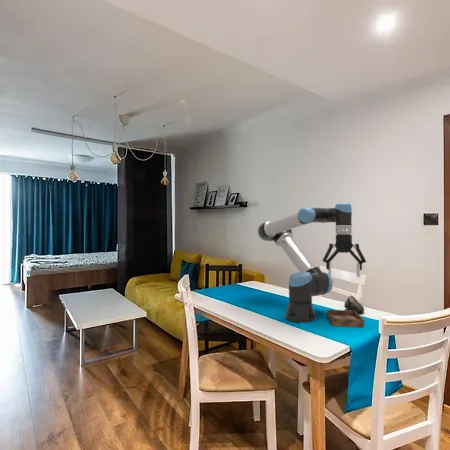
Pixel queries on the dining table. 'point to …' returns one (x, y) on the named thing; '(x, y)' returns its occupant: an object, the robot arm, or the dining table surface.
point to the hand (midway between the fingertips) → (343, 276)
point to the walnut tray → (345, 318)
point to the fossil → (353, 305)
